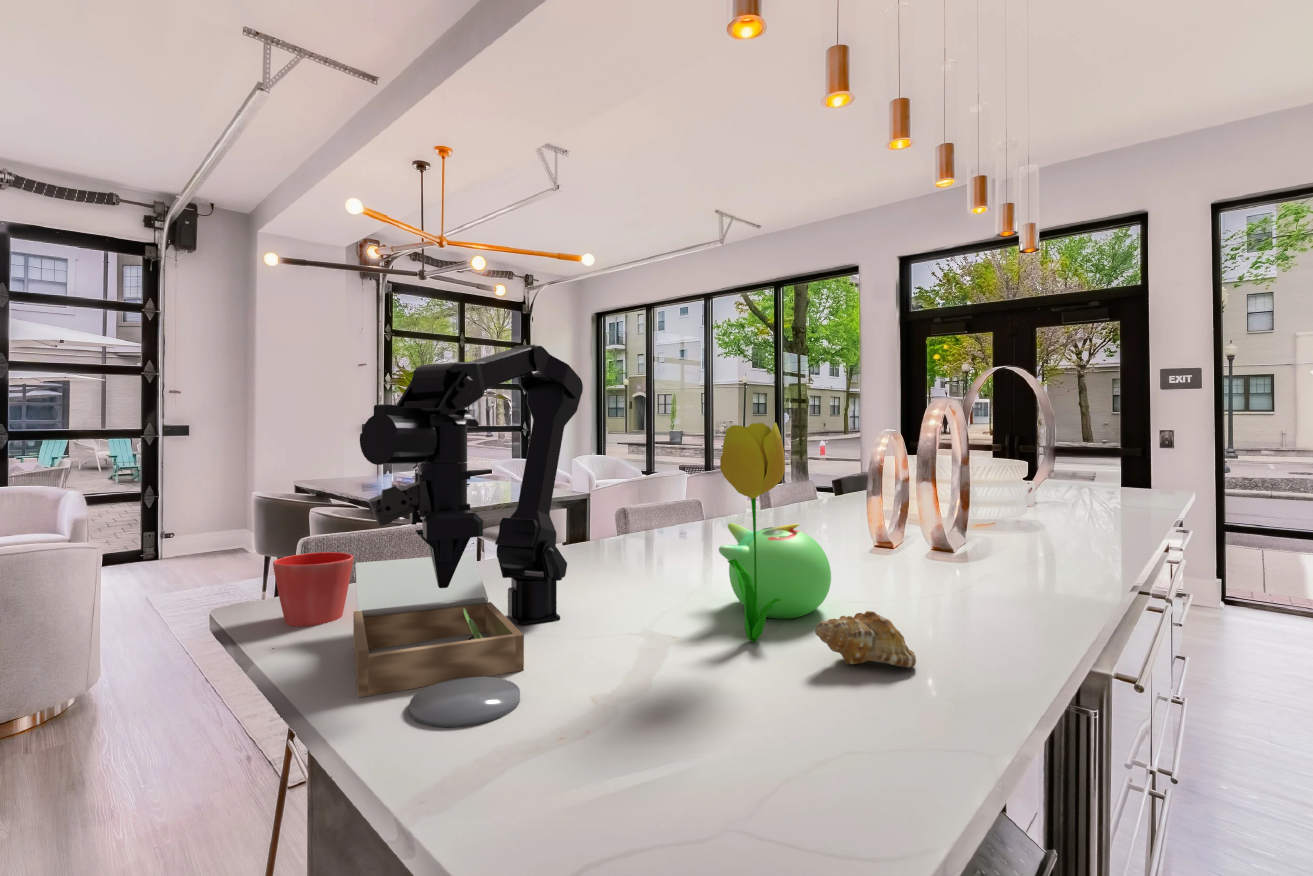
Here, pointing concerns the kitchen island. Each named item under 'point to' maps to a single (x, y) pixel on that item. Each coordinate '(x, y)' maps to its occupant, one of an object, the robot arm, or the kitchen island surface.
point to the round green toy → (781, 569)
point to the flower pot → (313, 586)
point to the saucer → (464, 701)
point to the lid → (415, 586)
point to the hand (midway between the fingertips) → (443, 587)
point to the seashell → (866, 639)
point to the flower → (752, 497)
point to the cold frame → (433, 648)
